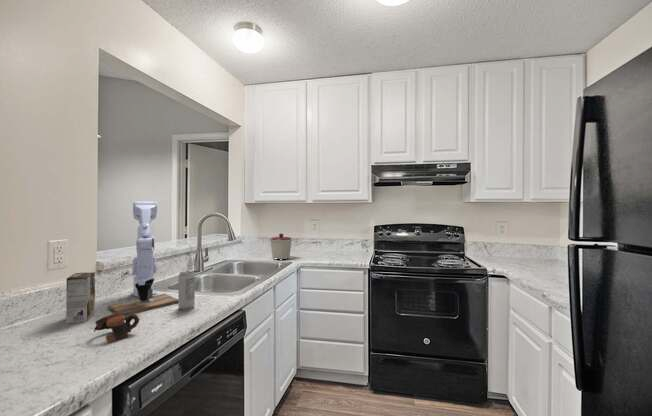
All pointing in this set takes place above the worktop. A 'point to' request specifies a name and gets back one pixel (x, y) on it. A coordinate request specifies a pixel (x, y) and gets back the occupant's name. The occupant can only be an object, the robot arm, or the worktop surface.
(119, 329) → the brown rounded piece
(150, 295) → the grey faceted polyhedron
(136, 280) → the robot arm
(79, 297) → the coffee box
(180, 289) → the energy drink can
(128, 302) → the board
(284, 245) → the canister
